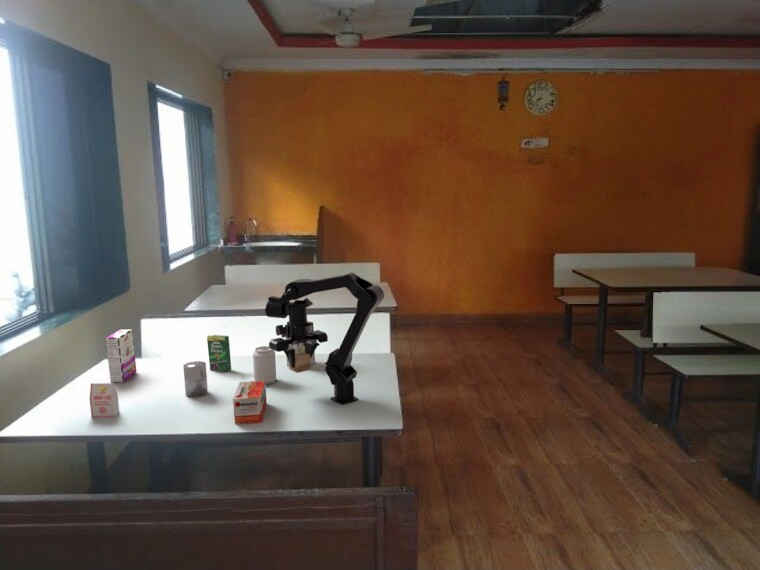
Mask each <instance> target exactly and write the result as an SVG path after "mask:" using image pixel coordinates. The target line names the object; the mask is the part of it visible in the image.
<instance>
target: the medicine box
mask: <svg viewBox="0 0 760 570" xmlns="http://www.w3.org/2000/svg"><path fill="white" fill-rule="evenodd" d="M266 385H267V384H266V383H265V381H255V380H254V381H240V382H239V383H238V385H237V388H236V390H235V392H234V395H233V397H232V403H233V404H232V405H233V413H234V415H233V416H234V425H239V424H240V425H241V424H243V425H244V424H258V423H263V421H264V416H265V412H266V407H267V403H268V402H267V386H266Z"/></svg>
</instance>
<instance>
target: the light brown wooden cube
mask: <svg viewBox="0 0 760 570" xmlns="http://www.w3.org/2000/svg"><path fill="white" fill-rule="evenodd" d="M311 365H312V364H310V354H307V353H305V352H303V351H301V352H297V353H295V365H294V368H291V366H290V363H289V367H288V369H289V370H291V371H292V372H295V373H296V374H298V373H303V372H307V371H312V369H311V367H312V366H311Z"/></svg>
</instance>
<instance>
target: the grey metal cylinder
mask: <svg viewBox="0 0 760 570" xmlns="http://www.w3.org/2000/svg"><path fill="white" fill-rule="evenodd" d="M182 366H183V377H184V378H183V380H184V389H185V390H184V391H185V396H186V397H187V398H189V399H190V398H191V399H194V398H195V399H196V398H202V397H204V396H206V395H207V394H208V392H209V390H208V388H209V386H208V376H207V375H208V374H207V363H206V361H205V362H204V361H202V360H201V361H200V360H196V361H190V362H186V363H185V364H183V365H182Z"/></svg>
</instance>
